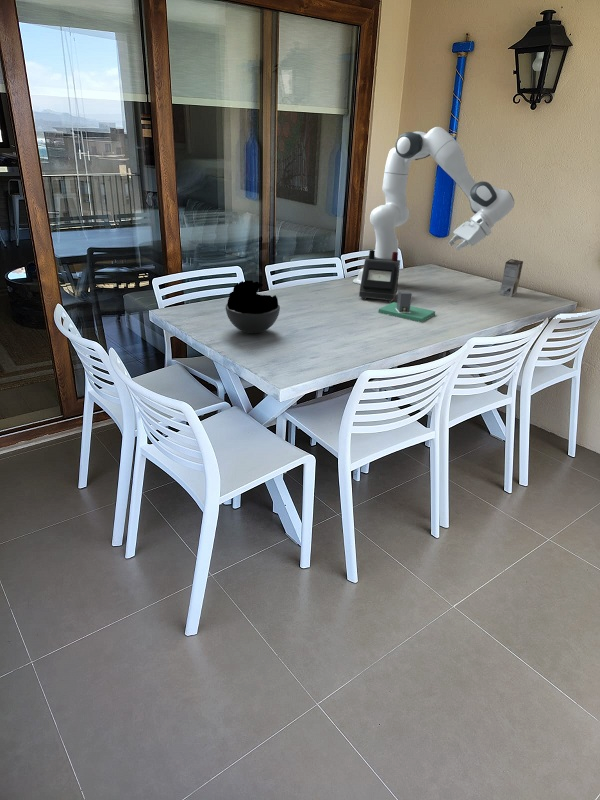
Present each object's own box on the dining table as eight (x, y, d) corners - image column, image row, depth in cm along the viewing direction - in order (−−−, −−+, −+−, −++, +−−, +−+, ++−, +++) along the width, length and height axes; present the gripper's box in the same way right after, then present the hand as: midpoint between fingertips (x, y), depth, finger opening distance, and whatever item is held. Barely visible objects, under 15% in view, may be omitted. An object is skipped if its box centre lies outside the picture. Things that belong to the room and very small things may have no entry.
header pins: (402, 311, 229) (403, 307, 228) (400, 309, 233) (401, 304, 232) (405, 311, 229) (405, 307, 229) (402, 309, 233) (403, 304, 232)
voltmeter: (358, 299, 249) (362, 255, 241) (363, 291, 264) (366, 249, 255) (393, 303, 246) (398, 259, 237) (396, 294, 261) (401, 252, 252)
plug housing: (396, 308, 233) (398, 290, 230) (406, 308, 233) (408, 290, 230) (399, 312, 229) (401, 293, 225) (409, 312, 229) (412, 293, 225)
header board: (378, 312, 233) (378, 308, 232) (393, 305, 243) (393, 301, 242) (421, 322, 222) (421, 318, 222) (434, 314, 233) (435, 310, 232)
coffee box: (503, 291, 273) (510, 258, 266) (516, 293, 270) (523, 260, 263) (498, 294, 267) (505, 261, 259) (511, 297, 263) (519, 263, 256)
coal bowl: (257, 320, 217) (257, 273, 209) (290, 334, 204) (291, 284, 195) (215, 329, 205) (214, 280, 196) (247, 345, 192) (246, 292, 183)
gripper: (467, 214, 237) (441, 236, 240) (484, 222, 218) (456, 245, 222) (475, 225, 239) (449, 247, 243) (492, 233, 221) (465, 257, 224)
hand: (453, 246), depth 232 cm, fingers open, 8 cm apart
